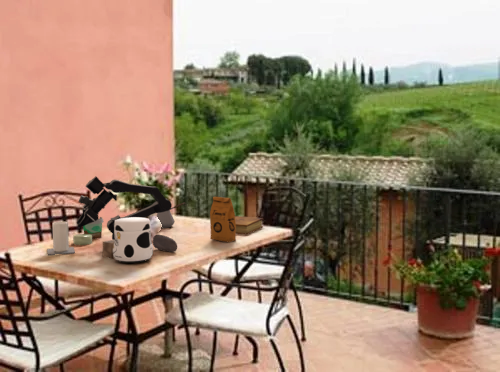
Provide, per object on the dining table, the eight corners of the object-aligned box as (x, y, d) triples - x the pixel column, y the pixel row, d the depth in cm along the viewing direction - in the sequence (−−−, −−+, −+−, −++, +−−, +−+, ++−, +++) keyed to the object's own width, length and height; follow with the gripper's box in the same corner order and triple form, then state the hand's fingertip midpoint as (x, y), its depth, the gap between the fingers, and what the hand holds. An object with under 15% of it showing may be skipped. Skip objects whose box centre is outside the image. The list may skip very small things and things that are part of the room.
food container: (90, 240, 322) (89, 221, 321) (82, 239, 326) (81, 220, 324) (109, 236, 332) (108, 217, 330) (101, 235, 335) (100, 216, 334)
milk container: (105, 260, 279) (104, 220, 277) (138, 254, 291) (137, 215, 289) (127, 267, 267) (126, 225, 265) (161, 260, 279) (160, 220, 277)
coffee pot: (149, 227, 357) (149, 200, 356) (163, 224, 367) (162, 198, 365) (179, 231, 346) (178, 203, 344) (192, 227, 355) (192, 201, 353)
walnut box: (122, 256, 288) (121, 241, 287) (111, 258, 283) (111, 243, 282) (113, 254, 292) (113, 239, 291) (103, 257, 287) (102, 241, 286)
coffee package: (226, 243, 313) (225, 199, 310) (207, 240, 321) (207, 197, 318) (239, 240, 321) (239, 197, 318) (220, 237, 328) (220, 195, 326)
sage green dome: (95, 243, 316) (94, 235, 315) (77, 246, 310) (77, 238, 310) (88, 240, 323) (87, 233, 322) (70, 243, 317) (70, 235, 317)
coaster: (73, 248, 305) (73, 246, 305) (75, 253, 294) (75, 252, 294) (47, 250, 301) (47, 248, 301) (47, 255, 290) (47, 254, 290)
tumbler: (70, 250, 297) (69, 223, 295) (56, 252, 293) (55, 224, 292) (65, 248, 302) (64, 221, 301) (52, 250, 298) (51, 222, 297)
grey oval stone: (181, 252, 295) (180, 237, 294) (172, 254, 292) (171, 239, 291) (160, 247, 306) (160, 233, 305) (151, 249, 302) (151, 234, 301)
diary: (232, 225, 364) (232, 215, 363) (263, 228, 357) (263, 217, 356) (215, 232, 343) (214, 222, 342) (247, 235, 336) (247, 224, 335)
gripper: (87, 187, 307) (63, 210, 305) (90, 191, 290) (65, 217, 287) (104, 202, 311) (81, 226, 308) (108, 208, 293) (84, 233, 291)
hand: (77, 225), depth 299 cm, fingers open, 9 cm apart
